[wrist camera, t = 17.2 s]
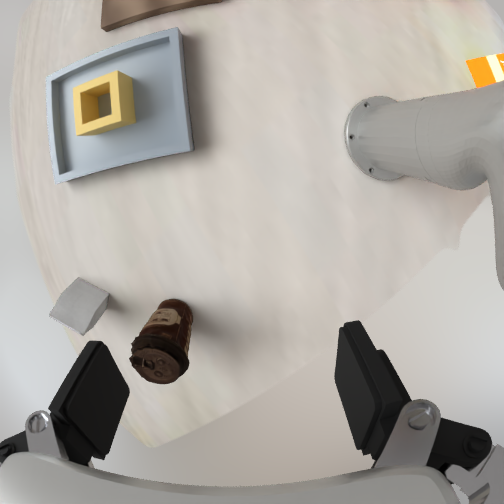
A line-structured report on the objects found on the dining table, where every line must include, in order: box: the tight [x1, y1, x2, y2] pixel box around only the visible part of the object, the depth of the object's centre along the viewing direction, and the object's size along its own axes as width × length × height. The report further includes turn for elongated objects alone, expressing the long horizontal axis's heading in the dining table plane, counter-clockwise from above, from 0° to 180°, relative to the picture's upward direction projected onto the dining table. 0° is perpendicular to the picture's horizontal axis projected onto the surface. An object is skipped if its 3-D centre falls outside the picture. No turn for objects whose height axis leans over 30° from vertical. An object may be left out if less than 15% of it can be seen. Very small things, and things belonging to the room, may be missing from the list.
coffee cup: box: [129, 299, 193, 384], centre depth 39 cm, size 9×8×13 cm
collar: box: [73, 70, 136, 136], centre depth 29 cm, size 7×7×5 cm
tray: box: [46, 27, 194, 184], centre depth 31 cm, size 22×18×3 cm
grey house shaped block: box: [49, 278, 109, 336], centre depth 38 cm, size 4×7×10 cm, turn 64°
